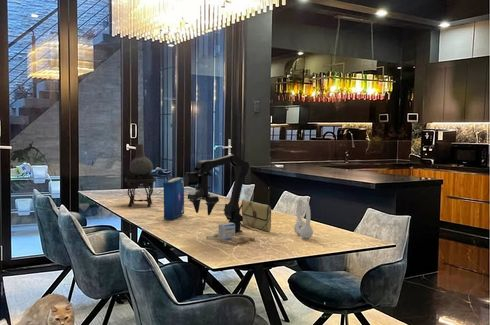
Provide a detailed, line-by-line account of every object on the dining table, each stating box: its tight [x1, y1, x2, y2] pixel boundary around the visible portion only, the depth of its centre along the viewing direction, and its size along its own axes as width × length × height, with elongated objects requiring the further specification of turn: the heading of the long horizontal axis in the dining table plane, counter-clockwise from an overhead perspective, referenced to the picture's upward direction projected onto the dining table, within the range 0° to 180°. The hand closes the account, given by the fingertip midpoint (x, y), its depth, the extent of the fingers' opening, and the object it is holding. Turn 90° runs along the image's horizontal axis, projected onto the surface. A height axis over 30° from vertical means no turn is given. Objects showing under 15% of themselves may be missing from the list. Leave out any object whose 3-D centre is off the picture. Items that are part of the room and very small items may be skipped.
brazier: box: [124, 143, 157, 208], centre depth 349 cm, size 22×22×45 cm
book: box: [162, 176, 185, 221], centre depth 303 cm, size 22×7×25 cm, turn 168°
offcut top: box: [231, 234, 250, 242], centre depth 236 cm, size 7×5×2 cm
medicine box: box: [218, 222, 236, 241], centre depth 242 cm, size 8×4×9 cm, turn 137°
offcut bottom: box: [231, 240, 250, 245], centre depth 236 cm, size 7×5×2 cm
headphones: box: [293, 198, 314, 240], centre depth 252 cm, size 7×18×20 cm, turn 9°
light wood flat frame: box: [205, 232, 256, 247], centre depth 241 cm, size 14×21×2 cm, turn 47°
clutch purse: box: [239, 199, 272, 233], centre depth 272 cm, size 30×7×15 cm, turn 33°
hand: (202, 214), depth 250 cm, fingers open, 9 cm apart
